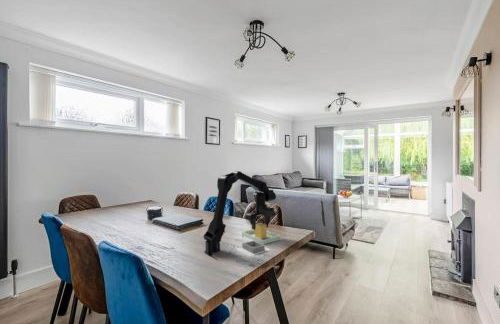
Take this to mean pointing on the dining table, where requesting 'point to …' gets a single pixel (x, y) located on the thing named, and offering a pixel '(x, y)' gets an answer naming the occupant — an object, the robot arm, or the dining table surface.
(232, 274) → the dining table surface
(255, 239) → the parts tray
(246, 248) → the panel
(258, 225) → the tan rectangular block
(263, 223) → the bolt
